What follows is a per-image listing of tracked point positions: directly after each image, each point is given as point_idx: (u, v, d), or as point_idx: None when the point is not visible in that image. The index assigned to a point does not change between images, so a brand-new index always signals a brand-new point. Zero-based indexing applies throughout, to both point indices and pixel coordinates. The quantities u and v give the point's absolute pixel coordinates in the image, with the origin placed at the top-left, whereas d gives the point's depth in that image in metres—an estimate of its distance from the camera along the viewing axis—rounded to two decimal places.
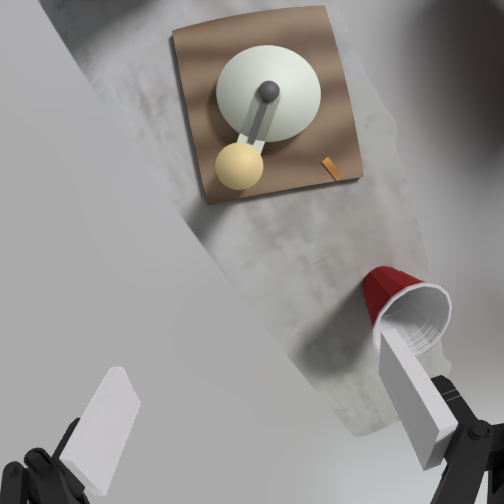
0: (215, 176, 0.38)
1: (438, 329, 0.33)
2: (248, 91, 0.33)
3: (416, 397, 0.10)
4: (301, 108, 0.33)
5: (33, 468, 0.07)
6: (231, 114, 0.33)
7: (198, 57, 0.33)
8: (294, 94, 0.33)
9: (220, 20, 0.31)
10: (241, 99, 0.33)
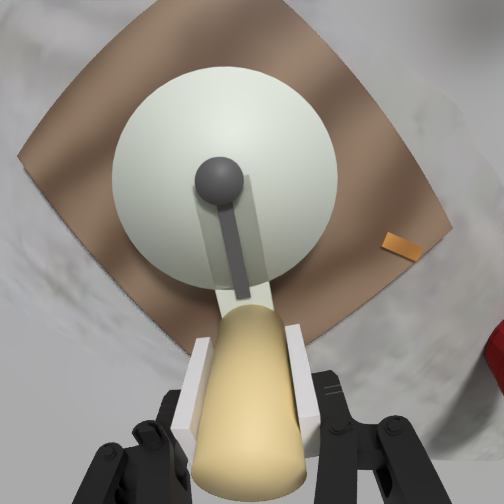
0: None
1: None
2: (181, 203, 0.16)
3: None
4: (302, 178, 0.16)
5: (140, 440, 0.09)
6: (178, 264, 0.17)
7: (72, 176, 0.18)
8: (272, 156, 0.15)
9: (69, 89, 0.16)
10: (178, 226, 0.16)
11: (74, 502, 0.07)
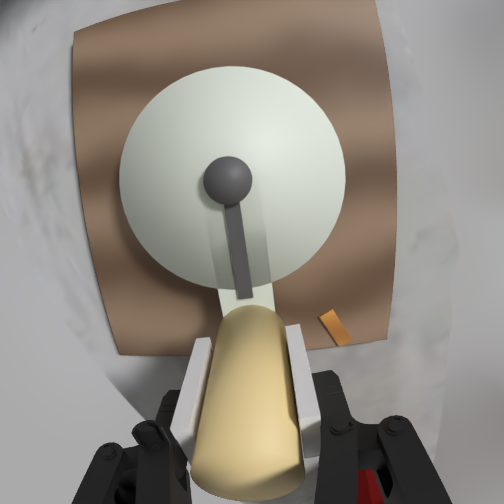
0: (128, 317, 0.21)
1: None
2: (189, 200, 0.16)
3: (294, 387, 0.12)
4: (310, 182, 0.16)
5: (140, 440, 0.09)
6: (182, 262, 0.17)
7: (107, 85, 0.16)
8: (282, 159, 0.15)
9: (159, 8, 0.14)
10: (184, 223, 0.16)
11: (74, 502, 0.07)
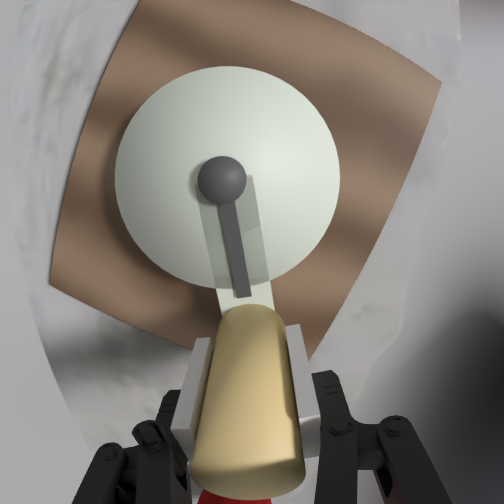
0: (72, 255, 0.19)
1: None
2: (184, 201, 0.16)
3: None
4: (305, 178, 0.16)
5: (140, 440, 0.09)
6: (180, 263, 0.17)
7: (161, 34, 0.15)
8: (275, 157, 0.15)
9: None
10: (181, 224, 0.16)
11: (74, 502, 0.07)
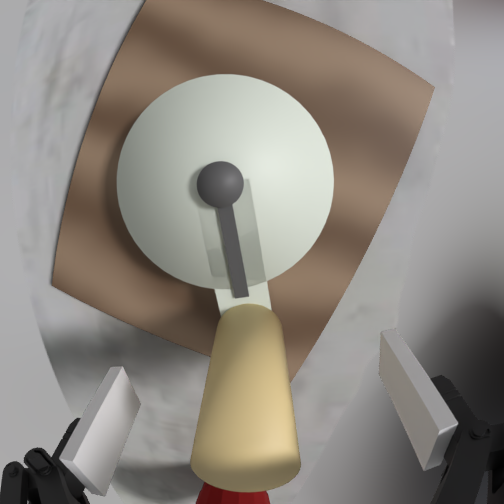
0: (75, 257, 0.20)
1: None
2: (184, 205, 0.17)
3: (416, 397, 0.10)
4: (300, 183, 0.16)
5: (33, 468, 0.07)
6: (180, 264, 0.18)
7: (161, 42, 0.16)
8: (271, 162, 0.16)
9: None
10: (180, 227, 0.17)
11: None
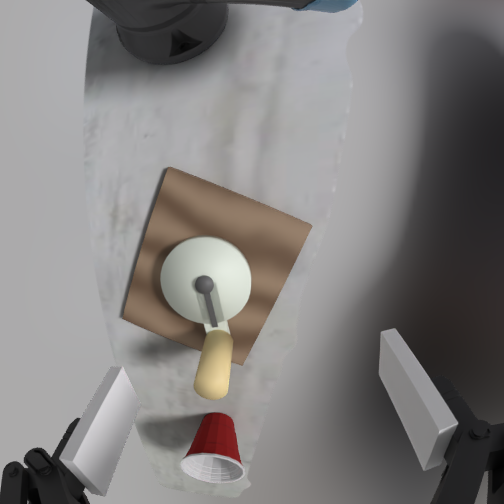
0: (136, 306, 0.44)
1: (231, 477, 0.44)
2: (190, 291, 0.41)
3: (416, 397, 0.10)
4: (236, 283, 0.41)
5: (33, 468, 0.07)
6: (189, 313, 0.42)
7: (173, 210, 0.40)
8: (224, 275, 0.40)
9: (212, 186, 0.39)
10: (189, 299, 0.41)
11: None
